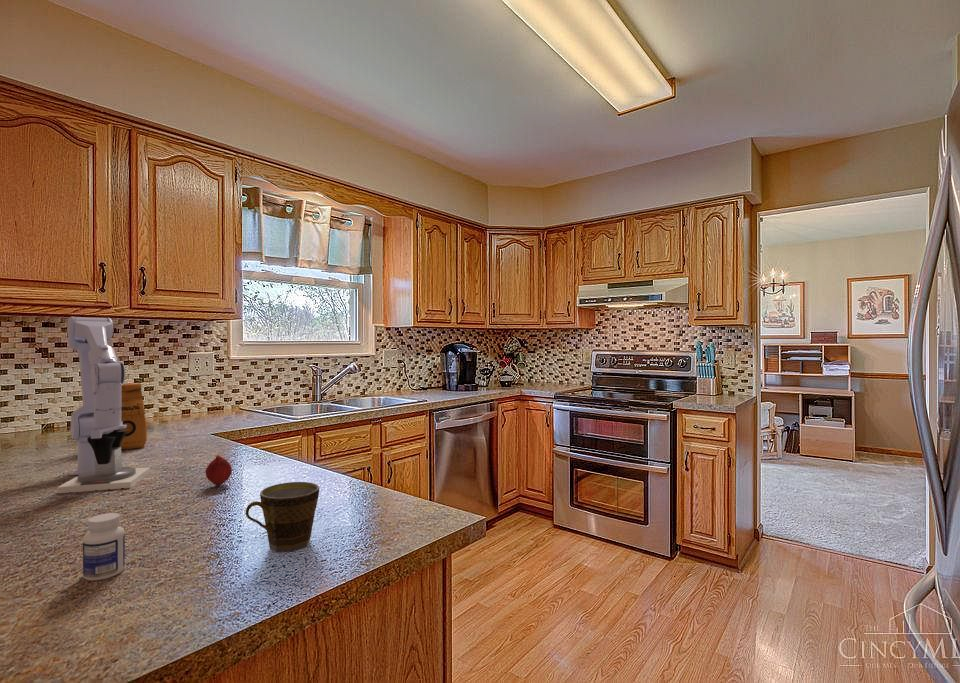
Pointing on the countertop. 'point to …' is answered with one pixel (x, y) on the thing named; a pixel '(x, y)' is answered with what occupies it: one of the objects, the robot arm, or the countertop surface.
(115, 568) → the pill bottle
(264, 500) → the ceramic cup
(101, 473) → the block
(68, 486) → the kitchen scale
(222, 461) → the onion
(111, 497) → the countertop surface
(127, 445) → the coffee package
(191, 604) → the countertop surface
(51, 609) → the countertop surface
